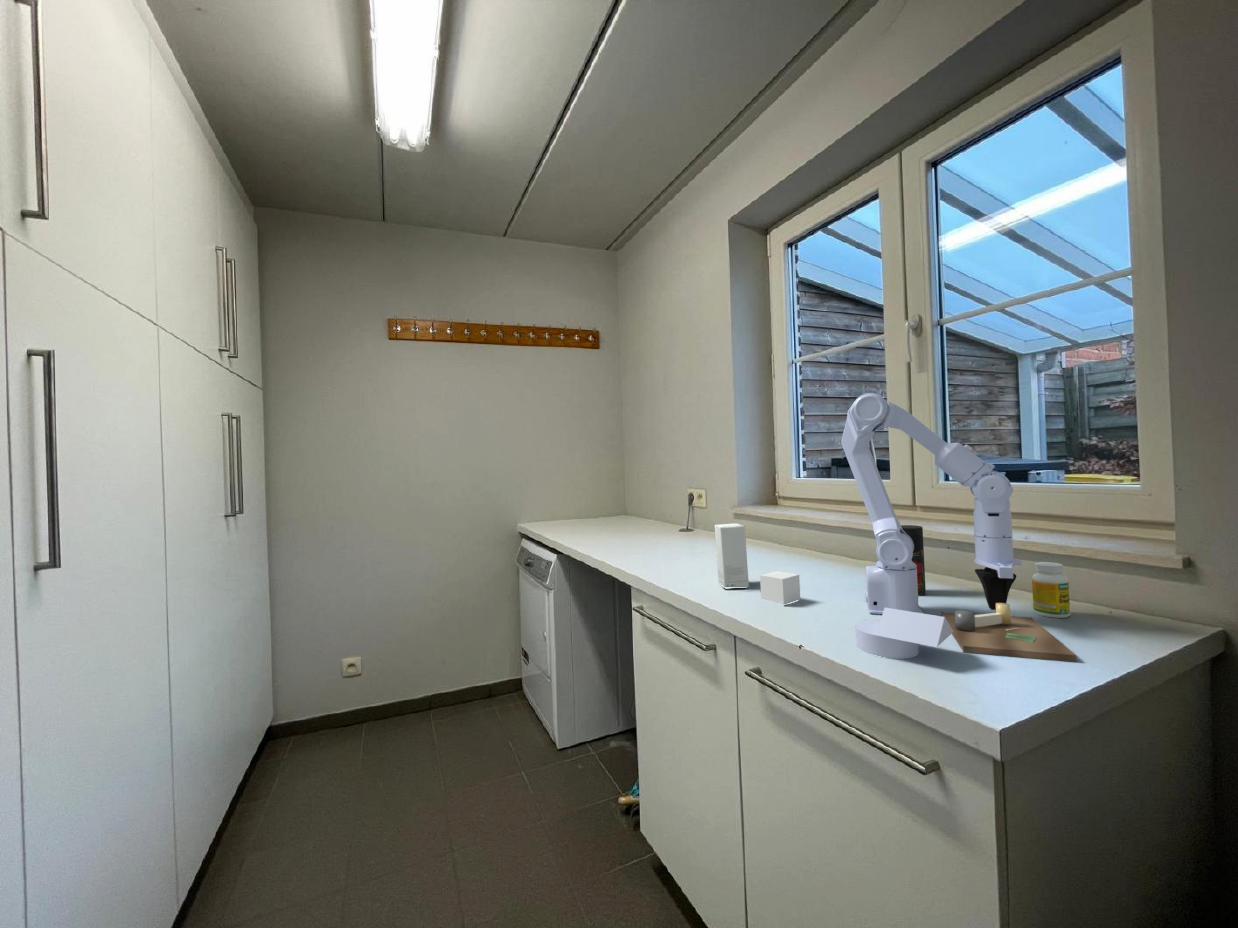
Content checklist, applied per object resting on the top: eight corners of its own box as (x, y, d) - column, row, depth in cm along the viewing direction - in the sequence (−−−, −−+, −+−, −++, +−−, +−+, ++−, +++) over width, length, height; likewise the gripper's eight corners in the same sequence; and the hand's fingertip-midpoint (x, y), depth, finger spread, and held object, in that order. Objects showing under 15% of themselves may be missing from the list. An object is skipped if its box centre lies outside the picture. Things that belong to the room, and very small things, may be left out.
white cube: (761, 601, 115) (759, 574, 115) (777, 596, 119) (776, 570, 119) (783, 606, 110) (782, 578, 110) (800, 601, 114) (799, 574, 114)
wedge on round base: (954, 652, 81) (868, 635, 90) (952, 610, 81) (866, 597, 90) (938, 670, 75) (847, 649, 84) (935, 624, 75) (845, 608, 84)
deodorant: (926, 590, 118) (923, 525, 118) (925, 596, 113) (922, 528, 113) (896, 588, 121) (893, 524, 121) (894, 594, 116) (891, 528, 116)
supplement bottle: (1039, 608, 101) (1037, 559, 101) (1074, 614, 96) (1072, 563, 96) (1028, 614, 98) (1026, 563, 98) (1064, 620, 93) (1061, 567, 93)
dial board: (963, 652, 81) (963, 645, 81) (941, 617, 98) (941, 611, 98) (1076, 661, 75) (1076, 654, 75) (1031, 623, 93) (1031, 617, 93)
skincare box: (749, 589, 126) (746, 526, 127) (722, 590, 127) (719, 527, 127) (741, 581, 135) (739, 522, 135) (716, 582, 135) (713, 523, 135)
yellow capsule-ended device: (965, 631, 87) (964, 611, 87) (951, 626, 89) (950, 607, 89) (1016, 624, 89) (1015, 605, 89) (1000, 620, 91) (1000, 601, 91)
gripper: (1033, 542, 87) (1037, 622, 87) (1007, 530, 100) (1010, 600, 100) (983, 541, 90) (987, 619, 90) (964, 530, 103) (968, 598, 103)
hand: (996, 609), depth 95 cm, fingers closed
